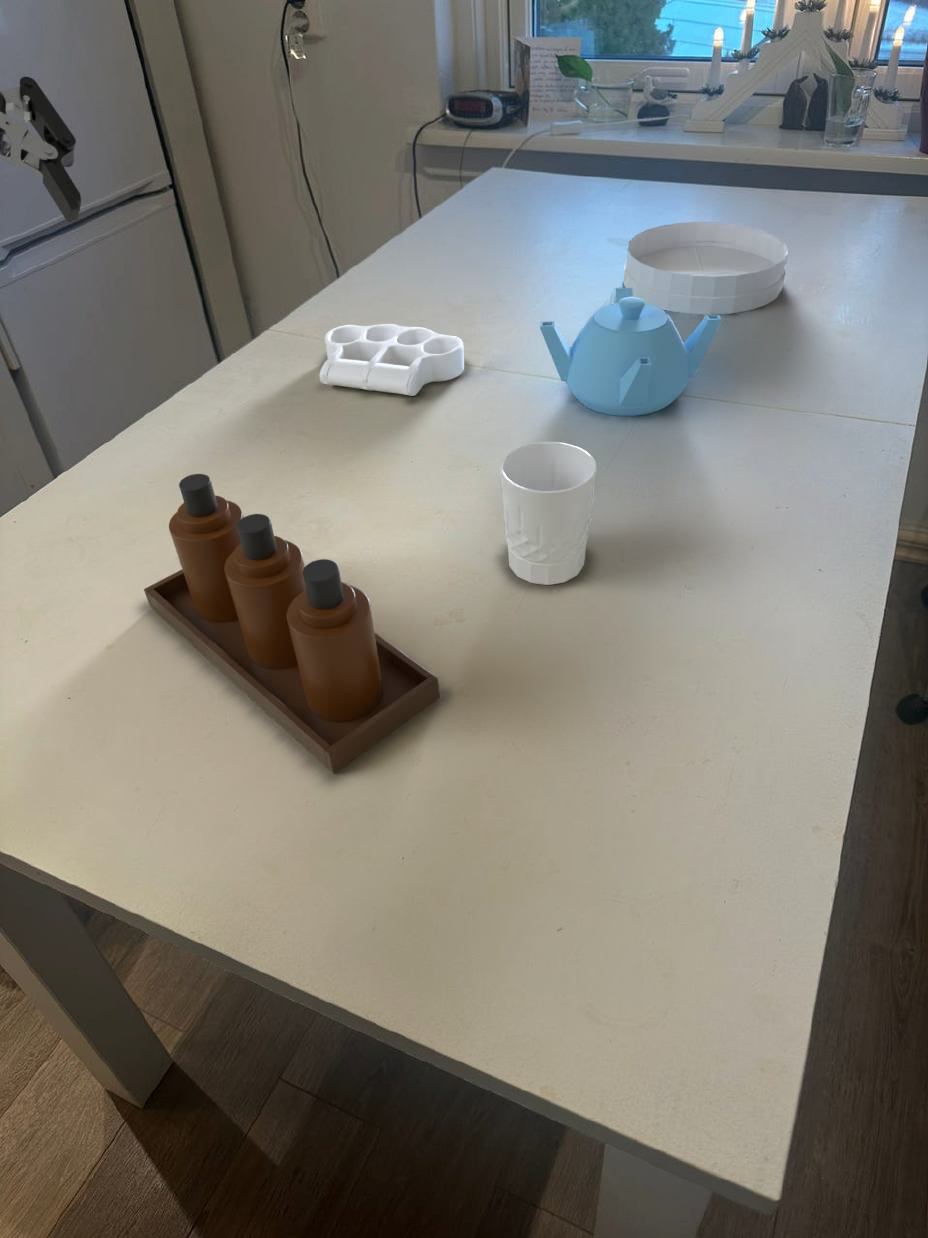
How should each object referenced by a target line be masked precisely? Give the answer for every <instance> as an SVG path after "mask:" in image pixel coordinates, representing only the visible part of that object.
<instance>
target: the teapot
mask: <svg viewBox="0 0 928 1238" xmlns="http://www.w3.org/2000/svg"><path fill="white" fill-rule="evenodd" d="M720 315H721V314H715V315H704V317H703V319H702V321H701V322H700V323H699V324H698V326H696V328H695V329H694V331H693V332H691V334H690V336H689V337H688V338H687V339H686V341H685V342H683V339H682V337H681V335H680V333H679V331H678V329H677V328H676V326H675V324H674V321H673V320H672V318H671V316H669V314H668V313H667V312H666V310H664V309H661V308H659V307H656V306H653V305H650V304H645V301H644V300H643V299H641V298H637V297H633V292H632V288H625V287H618V288H617V287H616V288H615V293H614V303H610V304H607V305H604V306H602V307H600V308H599V309H597V310H596V311H595V312H593V314H592V315H591V316H590V317H589V318H588V320H587V321H586V323H585V324H584V325H583V327H582V329H581V330H580V331H579V333H578V334H577V336H576V338H574V339H575V340H574V341H573V343H572V345H571V346H570V345H569V344H568V342H567V341H566V339H565V338H564V336H563V334H562V333H561V331H560V330H559V328H558V327H557V326H556V324H555V321H553V320H552V321H540V322H539V323H540V324H539V329H540V332H541V334H542V337H543V339H544V342H545V344H546V347H547V349H548V351H549V354H550V356H551V359H552V362H553V364H554V366H555V369H556V372H557V374H558V376H559V377H560V380H561V381H562V382H565V384H566V387H567V388H568V390H569V391H570V392H571V394H572V395H573V396H574V397H575V398H576V400H578V401H579V402H580V404H581V405H583V406H585V407H586V408H588V409H590V410H593V411H595V412H598V413H601V414H605V415H611V416H618V417H619V416H621V417H635V416H636V417H637V416H644V415H648V414H653V413H656V412H658V411H659V412H660V411H661V410H663V409H665V408H666V407H668V406H669V405H671V404H672V403H673V402H674V401H675V400H676V399H678V398H679V397H680V396H681V395H682V393H683V392H684V391H685V390H686V388H687V386H688V382H689V379H692V378H694V377H695V376H696V374H697V372H698V370H699V367H700V365H702V362H703V360H704V357H705V356H706V354H707V352H708V350H709V347H710V345H711V344H712V342H713V339H714V337H715V336H716V334H717V331H718V329H719V328H720V326H721V323H722V321H723V319H722V316H720Z"/></svg>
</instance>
